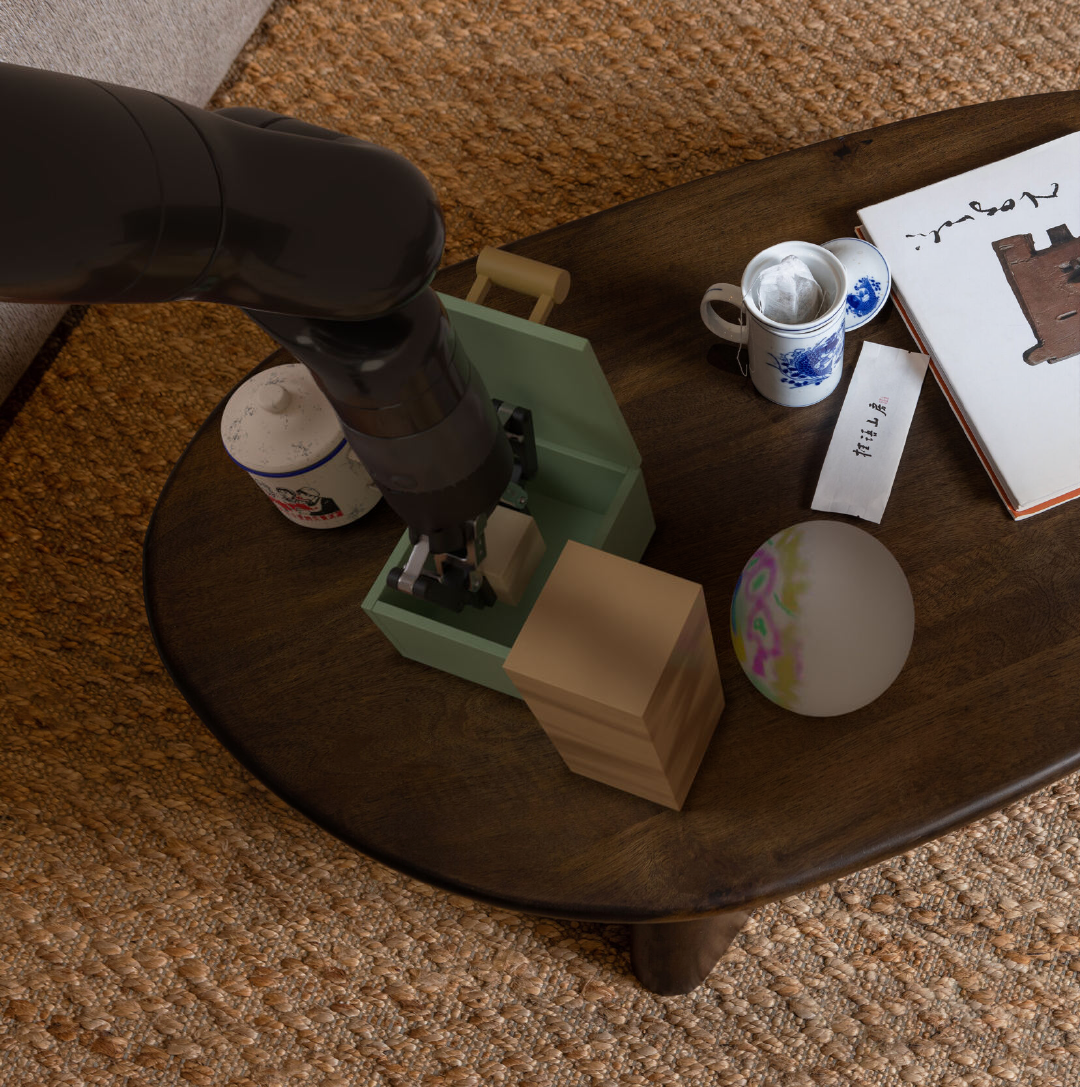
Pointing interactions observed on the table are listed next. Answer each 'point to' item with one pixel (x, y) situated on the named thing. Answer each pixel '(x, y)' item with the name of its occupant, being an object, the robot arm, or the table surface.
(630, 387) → the table surface
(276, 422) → the teacup with lid
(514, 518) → the block
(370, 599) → the chest
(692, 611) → the stand
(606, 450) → the lid
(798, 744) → the table surface
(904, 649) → the decorative egg
